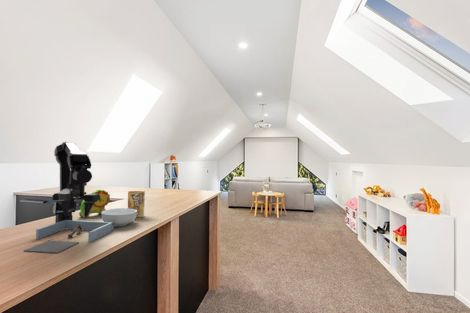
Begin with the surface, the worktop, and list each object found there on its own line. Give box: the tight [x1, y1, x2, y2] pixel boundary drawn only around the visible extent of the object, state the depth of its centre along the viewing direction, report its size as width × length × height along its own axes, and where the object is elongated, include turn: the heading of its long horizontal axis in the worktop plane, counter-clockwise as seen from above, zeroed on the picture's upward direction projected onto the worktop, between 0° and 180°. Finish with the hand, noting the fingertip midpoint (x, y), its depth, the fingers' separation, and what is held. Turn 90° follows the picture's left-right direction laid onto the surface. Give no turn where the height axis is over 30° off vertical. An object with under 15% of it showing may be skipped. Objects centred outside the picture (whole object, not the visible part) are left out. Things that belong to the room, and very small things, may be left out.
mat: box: [23, 239, 80, 254], centre depth 93 cm, size 13×11×1 cm
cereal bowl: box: [101, 207, 137, 227], centre depth 127 cm, size 17×17×7 cm
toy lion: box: [78, 189, 111, 219], centre depth 145 cm, size 16×5×15 cm, turn 144°
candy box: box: [127, 190, 146, 218], centre depth 145 cm, size 9×4×15 cm, turn 103°
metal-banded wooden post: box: [67, 224, 84, 239], centre depth 108 cm, size 2×8×4 cm, turn 178°
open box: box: [35, 219, 114, 243], centre depth 109 cm, size 24×16×4 cm, turn 86°
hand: (75, 216), depth 108 cm, fingers open, 9 cm apart
